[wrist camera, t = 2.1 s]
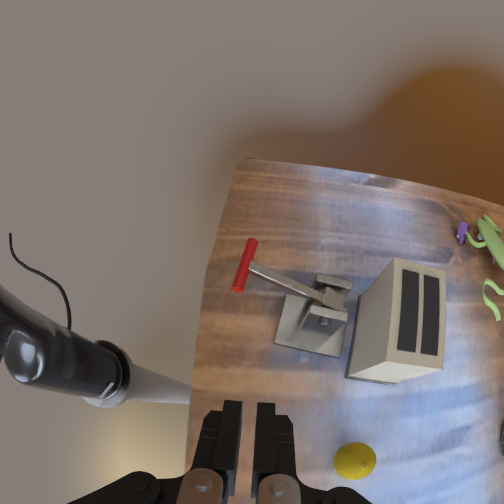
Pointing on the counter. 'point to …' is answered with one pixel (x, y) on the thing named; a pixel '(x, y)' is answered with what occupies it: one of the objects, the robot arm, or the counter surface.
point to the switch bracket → (314, 321)
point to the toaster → (399, 325)
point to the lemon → (354, 461)
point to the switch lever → (283, 281)
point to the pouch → (502, 439)
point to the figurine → (497, 248)
